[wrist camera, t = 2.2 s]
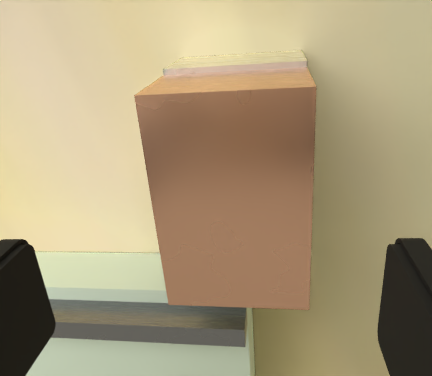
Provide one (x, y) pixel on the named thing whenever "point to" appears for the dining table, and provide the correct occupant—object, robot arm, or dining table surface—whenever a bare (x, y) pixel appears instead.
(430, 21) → the dining table surface
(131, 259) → the stand
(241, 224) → the block
